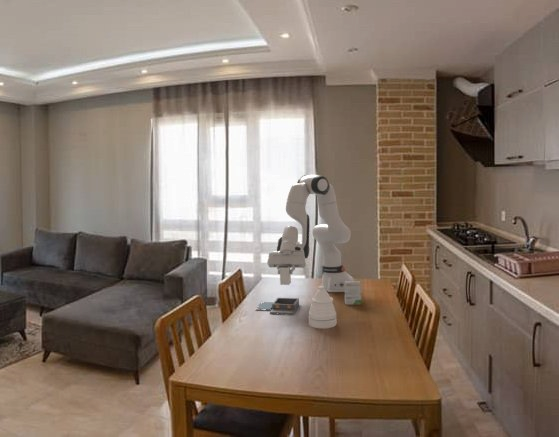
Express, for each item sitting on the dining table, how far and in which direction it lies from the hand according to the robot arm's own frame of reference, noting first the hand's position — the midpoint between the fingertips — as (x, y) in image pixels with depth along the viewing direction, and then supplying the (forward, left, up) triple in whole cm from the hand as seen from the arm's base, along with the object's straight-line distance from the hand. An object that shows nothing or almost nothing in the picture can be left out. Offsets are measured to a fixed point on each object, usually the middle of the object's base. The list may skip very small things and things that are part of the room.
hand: (285, 273), depth 219 cm
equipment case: (0, +2, -18) cm, 18 cm away
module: (0, -1, -5) cm, 5 cm away
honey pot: (-22, +20, -19) cm, 35 cm away
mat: (+11, -1, -18) cm, 21 cm away
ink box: (-34, -13, -19) cm, 40 cm away
